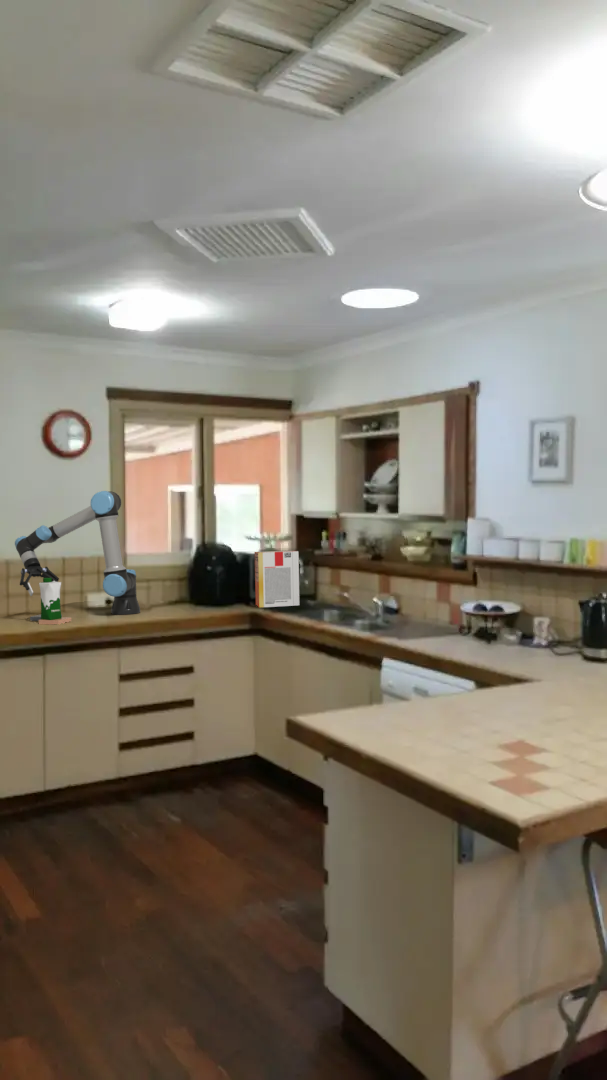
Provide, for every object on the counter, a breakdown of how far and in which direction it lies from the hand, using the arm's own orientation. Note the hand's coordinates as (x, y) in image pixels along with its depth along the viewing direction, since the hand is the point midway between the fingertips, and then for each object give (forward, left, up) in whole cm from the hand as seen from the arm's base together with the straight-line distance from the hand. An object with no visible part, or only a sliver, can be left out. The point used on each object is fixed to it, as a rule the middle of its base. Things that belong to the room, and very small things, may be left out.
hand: (45, 593), depth 426 cm
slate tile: (+3, -4, -14) cm, 15 cm away
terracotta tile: (-9, +5, -14) cm, 17 cm away
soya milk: (-8, +6, -12) cm, 16 cm away
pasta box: (-94, -81, -14) cm, 124 cm away
